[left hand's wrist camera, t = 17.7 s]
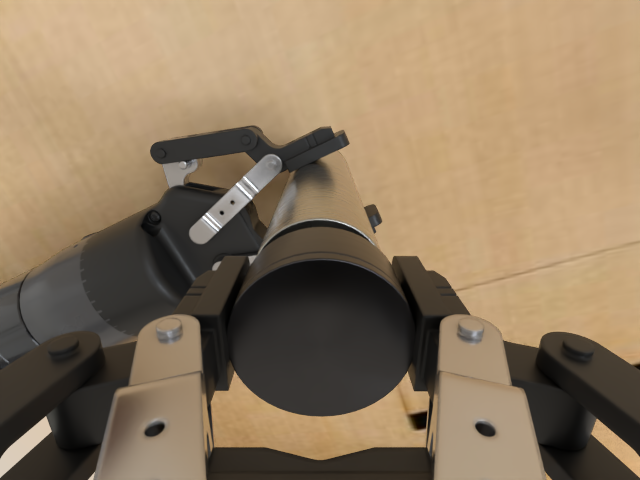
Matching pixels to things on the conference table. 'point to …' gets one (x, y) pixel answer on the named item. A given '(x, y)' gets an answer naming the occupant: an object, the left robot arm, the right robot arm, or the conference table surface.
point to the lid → (321, 324)
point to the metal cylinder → (320, 201)
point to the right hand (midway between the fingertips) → (361, 176)
